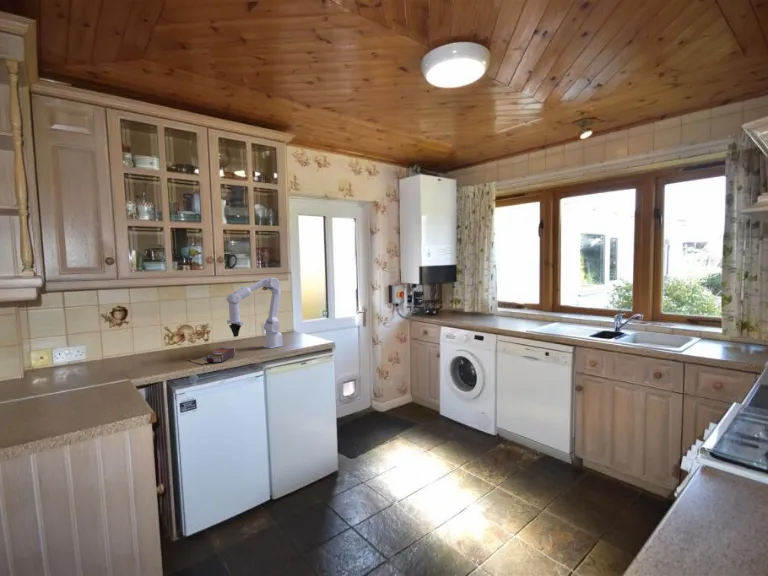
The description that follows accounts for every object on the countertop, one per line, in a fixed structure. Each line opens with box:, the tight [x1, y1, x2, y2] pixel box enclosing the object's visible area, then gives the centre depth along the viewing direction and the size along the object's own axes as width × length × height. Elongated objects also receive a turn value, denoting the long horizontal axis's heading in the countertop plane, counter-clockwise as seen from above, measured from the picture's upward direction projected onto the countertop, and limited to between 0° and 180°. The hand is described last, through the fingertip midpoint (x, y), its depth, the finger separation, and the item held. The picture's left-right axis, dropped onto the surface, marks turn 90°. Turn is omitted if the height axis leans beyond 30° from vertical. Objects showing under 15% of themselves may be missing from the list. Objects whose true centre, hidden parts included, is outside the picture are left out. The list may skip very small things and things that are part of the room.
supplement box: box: [206, 347, 236, 363], centre depth 215 cm, size 9×5×16 cm
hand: (235, 336), depth 228 cm, fingers closed
